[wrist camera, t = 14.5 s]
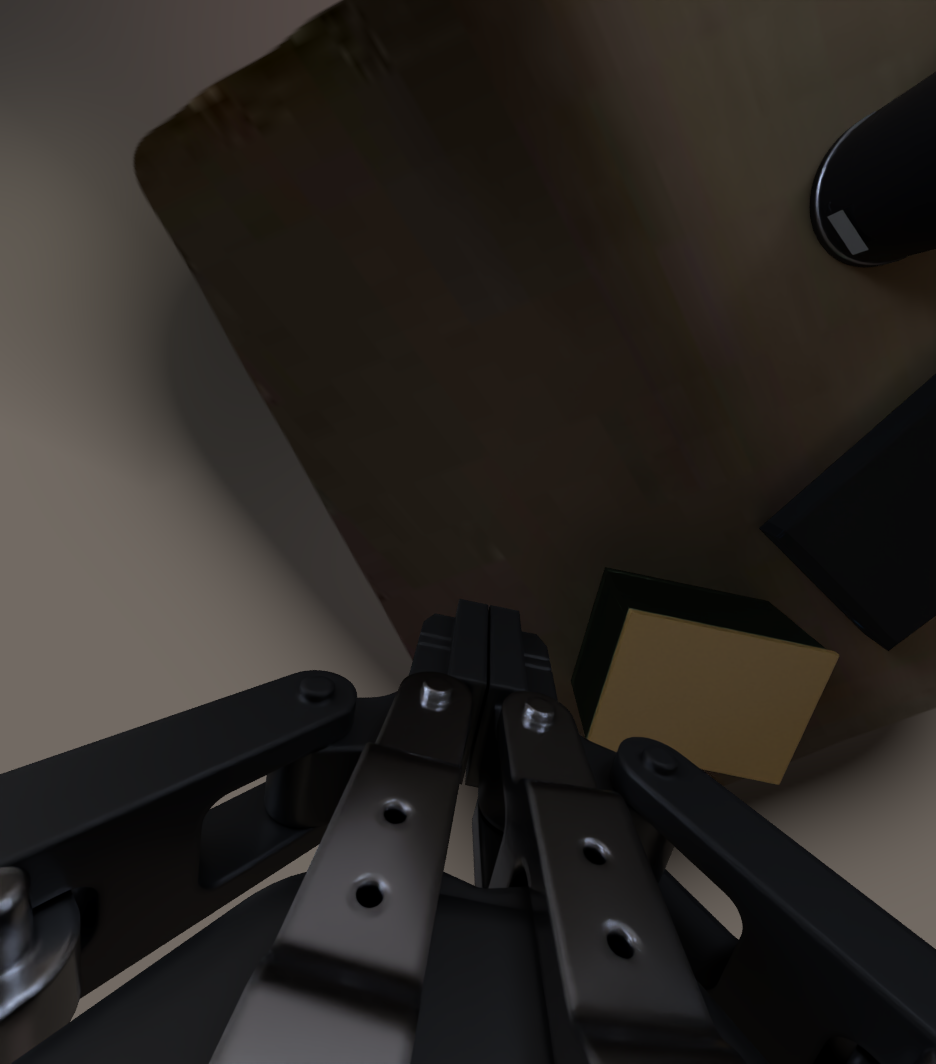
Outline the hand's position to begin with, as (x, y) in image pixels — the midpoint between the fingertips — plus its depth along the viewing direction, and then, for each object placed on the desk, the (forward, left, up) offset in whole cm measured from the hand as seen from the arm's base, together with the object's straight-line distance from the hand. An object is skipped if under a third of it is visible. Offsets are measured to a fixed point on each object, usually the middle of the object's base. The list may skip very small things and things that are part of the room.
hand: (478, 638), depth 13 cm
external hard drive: (-25, +25, -31) cm, 47 cm away
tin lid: (-1, +23, -23) cm, 33 cm away
